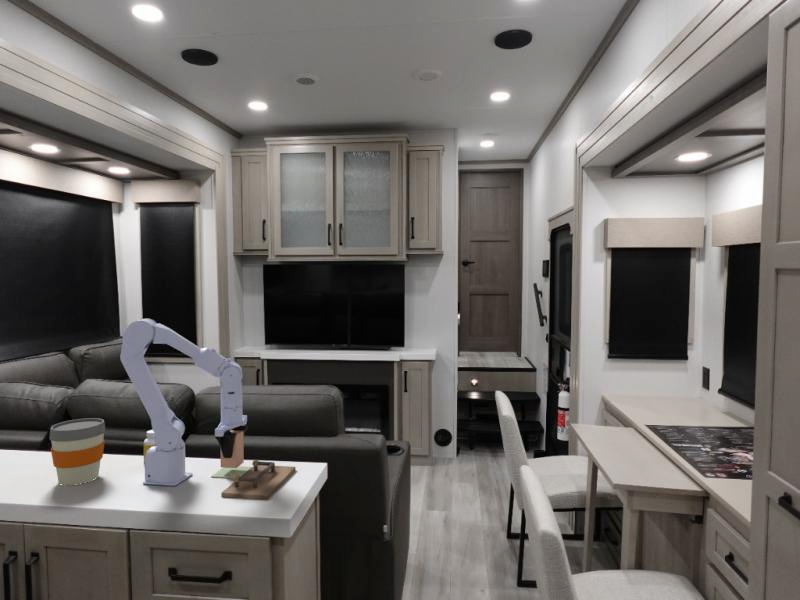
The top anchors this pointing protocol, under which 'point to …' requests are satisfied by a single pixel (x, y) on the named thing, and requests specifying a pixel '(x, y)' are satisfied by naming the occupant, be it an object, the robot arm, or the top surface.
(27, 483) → the top surface
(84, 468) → the reusable coffee cup
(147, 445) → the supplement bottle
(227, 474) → the mat
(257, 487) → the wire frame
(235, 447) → the terracotta block
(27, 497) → the top surface
